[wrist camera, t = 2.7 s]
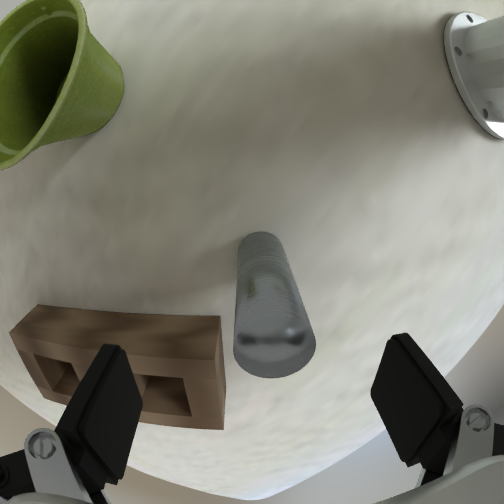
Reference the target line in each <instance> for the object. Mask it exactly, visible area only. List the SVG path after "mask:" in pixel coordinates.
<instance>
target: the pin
mask: <svg viewBox="0 0 504 504" xmlns="http://www.w3.org/2000/svg"><path fill="white" fill-rule="evenodd" d="M315 348H316V340H315V336H314V333H313V330H312V327H311V325H310V322H309V319H308V316H307V313H306V310H305V307H304V305H303V302H302V299H301V296H300V293H299V291H298V288H297V285H296V282H295V280H294V277H293V274H292V271H291V269H290V266H289V263H288V260H287V258H286V255H285V252H284V250H283V247H282V244H281V242H280V241H279V239H278V238H277V237H275V236H274V235H273V234H271V233H268V232H255V233H252V234H250V235H248V236H247V237H246V238H245V239H244V240H243V241H242V243H241V245H240V247H239V255H238V272H237V289H236V307H235V326H234V345H233V352H234V357H235V359H236V361H237V363H238V364H239V366H240V367H241V368H242V369H244V370H245V371H246V372H248V373H250V374H252V375H255V376H258V377H263V378H280V377H285V376H288V375H291V374H293V373H295V372H297V371H299V370H300V369H302V368H303V367H304V366H305V365H306V364H307V363H308V362H309V361H310V360H311V358H312V357H313V355H314V352H315Z"/></svg>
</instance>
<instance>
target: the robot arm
mask: <svg viewBox="0 0 504 504" xmlns="http://www.w3.org/2000/svg"><path fill="white" fill-rule="evenodd" d="M444 44H445V52H446V57H447V60H448V64H449V68H450V71H451V74H452V76H453V79H454V82H455V84H456V86H457V88H458V91H459V93H460V95H461V97H462V99H463V100H464V102H465V104H466V106H467V108H468V109H469V111H470V112H471V114H472V115H473V117H474V118H475V119H476V120H477V122H478V123H479V124H480V125H481V126H482V127H483V128H484V129H485V130H486V131H487V132H488V133H489V134H491V135H493V136H494V137H496V138H500V139H504V16H502V17H498V18H495V19H492V20H489V21H487V20H486V19H484V18H483V17H481V16H479V15H477V14H474V13H471V12H461V13H458V14H456V15H454V16H452V17H451V18H450V19H449V20H448V22H447V23H446V27H445V31H444ZM371 398H372V400H373V402H374V404H375V406H376V408H377V410H378V412H379V414H380V416H381V419H382V421H383V423H384V425H385V427H386V429H387V431H388V433H389V435H390V438H391V439H392V442H393V444H394V446H395V448H396V451H397V452H398V455H399V457H400V459H401V461H403V462H405V463H406V465H407V467H410V466H413V465H415V464H417V463H421V465H422V470H421V473H420V475H419V478H418V481H417V484H416V486H415V489H412V490H410V491H407V492H405V493H402V494H400V495H397V496H394V497H392V498H389V499H386V500H383V501H380V502H377V503H374V504H504V425H500V424H496V423H494V418H493V415H492V413H491V412H490V411H489V410H488V409H487V408H486V407H484V406H481V405H476V404H475V405H470V406H468V407H467V408H465V410H463V408H462V406H463V403H462V402H461V400H460V399H459V397H458V396H457V395H456V393H455V392H454V391H453V389H452V388H451V387H450V385H449V384H448V383H447V381H446V380H445V379H444V377H443V376H442V375H441V374H440V372H439V371H438V370H437V368H436V367H435V366H434V365H433V363H432V362H431V361H430V360H429V358H428V357H427V356H426V355H425V353H424V352H423V351H422V350H421V348H420V347H419V346H418V345H417V344H416V342H415V341H414V340H413V339H412V338H411V336H410V335H409V334H408V333H402V334H396V335H392V337H391V338H390V339H389V340H388V341H387V343H386V347H385V350H384V353H383V356H382V359H381V362H380V365H379V368H378V371H377V374H376V377H375V380H374V382H373V385H372V388H371ZM142 408H143V400H142V397H141V395H140V392H139V389H138V387H137V384H136V381H135V378H134V375H133V372H132V370H131V367H130V364H129V361H128V357H127V354H126V351H125V350H124V349H121V347H120V345H115V344H103V345H102V346H101V348H100V350H99V351H98V353H97V355H96V356H95V358H94V360H93V362H92V363H91V365H90V367H89V368H88V370H87V372H86V374H85V375H84V377H83V378H82V380H81V381H80V383H79V385H78V387H77V389H76V390H75V392H74V394H73V396H72V398H71V400H70V401H69V403H68V405H67V407H66V409H65V411H64V413H63V415H62V417H61V419H60V421H59V423H58V425H57V427H56V429H55V431H52V430H50V429H47V428H40V429H36V430H34V431H32V432H31V433H30V434H29V435H28V436H27V438H26V439H25V443H24V449H23V450H20V451H17V452H14V453H12V454H9V455H5V456H2V457H0V504H111V502H110V500H109V498H108V497H107V495H106V493H105V491H104V490H103V489H104V486H105V483H110V484H114V485H117V483H118V479H122V478H123V476H124V472H125V468H126V464H127V461H128V457H129V453H130V449H131V446H132V442H133V439H134V435H135V432H136V428H137V425H138V421H139V418H140V415H141V411H142Z"/></svg>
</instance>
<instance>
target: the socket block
mask: <svg viewBox="0 0 504 504" xmlns="http://www.w3.org/2000/svg"><path fill="white" fill-rule="evenodd" d="M9 334H10V336H11V338H12V340H13V342H14V344H15V347H16V349H17V351H18V353H19V355H20V357H21V359H22V361H23V363H24V364H25V366H26V368H27V370H28V372H29V374H30V375H31V377H32V379H33V381H34V382H35V384H36V386H37V387H38V389H39V391H40V392H41V394H42V396H43V397H44V398H45V399H48V400H51V401H54V402H57V403H60V404H64V405H68V403H69V401H70V400H71V398H72V396H73V394H74V392H75V390H76V389H77V387H78V385H79V383H80V381H81V380H82V378H83V377H84V375H85V374H86V372H87V370H88V368H89V367H90V365H91V363H92V362H93V360H94V358H95V356H96V355H97V353H98V351H99V350H100V348H101V346H102V345H103V344H115V345H120V347H121V349H124V350H125V351H126V354H127V357H128V361H129V364H130V367H131V370H132V372H133V375H134V378H135V381H136V384H137V387H138V389H139V392H140V395H141V397H142V400H143V408H142V411H141V415H140V418H139V421H138V422H142V423H149V424H156V425H164V426H173V427H183V428H195V429H214V430H224V414H225V397H226V380H225V369H224V358H223V346H222V333H221V320H220V316H187V315H157V314H137V313H120V312H106V311H94V310H83V309H72V308H63V307H54V306H46V305H37V306H35V307H34V308H33V309H32V310H31V311H30V312H29V313H28V314H27V315H26V316H25V317H24V318H23V319H22V320H21V321H20V322H19V323H18V324H17V325H16V326H15V327H14V328H13V329H12V330H11V331H10V332H9Z"/></svg>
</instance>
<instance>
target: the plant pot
mask: <svg viewBox="0 0 504 504" xmlns="http://www.w3.org/2000/svg"><path fill="white" fill-rule="evenodd" d="M123 92H124V82H123V75H122V71H121V68H120V66H119V65H118V63H117V62H116V61H115V60H114V59H113V57H112V56H111V55H110V54H109V53H108V52H107V51H106V50H105V49H104V48H103V46H102V45H101V44H100V43H99V42H98V41H97V40H96V39H95V37H94V36H93V35H92V34H91V33H90V30H89V27H88V25H87V17H86V12H85V9H84V7H83V5H82V3H81V2H80V1H79V0H27V1H25V2H23V3H21V4H20V5H19V6H18V7H16V8H15V9H14V10H12V11H11V12H10V13H9V14H8V15H7V16H6V17H5V18H4V19H3V20H2V21H1V22H0V170H3V169H6V168H9V167H11V166H13V165H15V164H17V163H18V162H20V161H21V160H22V159H24V158H25V157H26V156H27V155H28V154H29V153H31V152H32V151H34V150H35V149H37V148H38V147H40V146H43V145H46V144H50V143H54V142H57V141H61V140H66V139H70V138H74V137H79V136H84V135H87V134H90V133H92V132H94V131H96V130H98V129H99V128H101V127H103V126H104V125H105V124H106V123H107V122H108V121H109V120H110V119H111V117H112V116H113V115H114V113H115V112H116V110H117V108H118V106H119V104H120V102H121V99H122V96H123Z"/></svg>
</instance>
